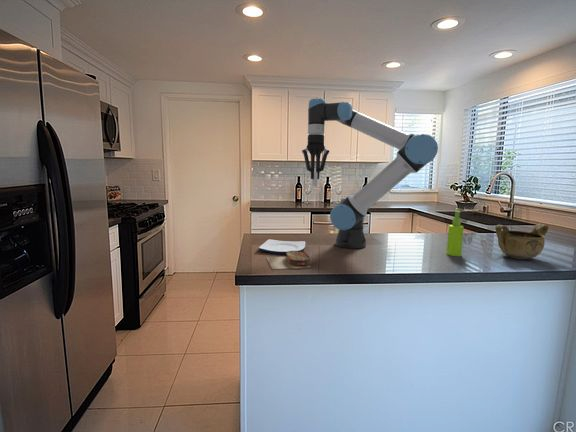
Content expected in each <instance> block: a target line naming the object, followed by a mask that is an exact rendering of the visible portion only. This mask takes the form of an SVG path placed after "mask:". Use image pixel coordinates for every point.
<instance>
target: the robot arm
mask: <svg viewBox="0 0 576 432" xmlns="http://www.w3.org/2000/svg"><path fill="white" fill-rule="evenodd" d="M308 101H309V102H308V109H307V111H308V113H307V115H308V117H307V134H308V135H307V145H306V148H304V149H302V150H301V153H302V154H303V157H304V163H305V167H306V171H308V172H310V179H311V180H312V181H311V182H312V187H315V188H316V187H318V180H319V179H320V172H323V171H324V170H325V166H326V161H327V158H328V155H329V154H330V150H328V149H326V146H325V135H324V134H325V126H326V125H325V123H326V121H327V122H330V121H332V122H333V121H336V122H338V123H341V124H342V125H344V126H347V127H349V128H352V129H353V130H355V131H358V132H360V133H362V134H365V135H367V136H369V137H371V138H373V139H375V140H376V141H377V140H378V141H379V142H382V143H384V144H386V145H388V146H390V147H393V148H395V149H396V150H398V151H397V152H396V157H395V158H394V159H393V160H392V161H391V162H390V163H389V164H388V165H387V166H385V167H384V168H383V169H382V170H381V171H380V172H378V174H376V175H375V176H374V177H373V178H372V179H371V180H370V181H369V182H368V183H366V184H365V185H364V186H363V187H362V188H360V189H359V191H357V192H356V193H355V194H354V195H348V196H347V197H345V198H341V199H340V202H339V203H338V204H337V205H335V206H334V207H333V208H332V209H331V211H330V213H329V220H330V222H331V224H332V226H333V227H334V228H336V229H337V230H338V231H337V233H336V234H337V235H336V237H335V242H334V243H335V245H336V247H339V248H343V249H344V248H345V249H363V248H365V247H367V240H366V236H365V232H364V221H365V220H364V219H365V217H366V216H367V213H368V210H369V209H370V208H371V207H372V206H373V205H375V204H376V203H378V201H379V200H380V199H382V198H383V197H384V196H385V195H387V193H389V192H390V191H391V190H392V189H393V188H395V187H396V186H397V185H398V184H399V183H400V182H402V181H404V179H406V177H408V176H409V175H410V174H411V173H412V174H417V173H418V172H419V171H420V170H421V169H423V168H424V167H425V166H426V165H427V164H429V163H430V162H432V161H433V160H434V159H435V158H436V156H437V154H438V151H439V145H438V141H437V140H436V139H435V137H433V136H432V135H431V134H430V135H429V134H427V133H418V134H414V133H412V132H411V133H406V132H404V131H401V130H400V129H397V128H396V127H392V126H390V125H389V124H386V123H384V122H381V121H379V120H377V119H374V118H372V117H370V116H367V115H365V114H364V113H360V112H359V111H357V110H355V109H353V106H352V103H351V102H349V101H347V102H345V101H342V102H341V101H340V102H329V103H327V102H326V100H325V99H324V98H318V97H317V98H311V99H310V100H308ZM308 153H309V154H308ZM322 153H323V154H322ZM321 154H322V158H321ZM309 155H310V160H309Z"/></svg>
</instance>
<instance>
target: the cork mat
mask: <svg viewBox="0 0 576 432" xmlns="http://www.w3.org/2000/svg"><path fill="white" fill-rule="evenodd" d="M265 259H266V261H267V263H268V264H269V266H270V268H271V270H272V271H273V270H293V269H295V270H296V269H311V268H312V267H311V265H310V264H309V265H307V266H293V265H291V264H290V263H289V262H288V260H287V258H286V256H274V257H273V256H272V257H271V256H270V257H265Z"/></svg>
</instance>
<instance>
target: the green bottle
mask: <svg viewBox="0 0 576 432" xmlns="http://www.w3.org/2000/svg"><path fill="white" fill-rule="evenodd" d="M454 213H455V214H454V216H453V218H452V223H451V224H449V225H448V234H447V244H446V245H447V246H446V254H447V255H448V256H451V257H461V256H462V247H463V237H464V229H465V228H464V226H463V225H461V223H462V218H461V217H460V215H461V214H460V213H461V210H459V209H457V210H456V209H455V210H454Z"/></svg>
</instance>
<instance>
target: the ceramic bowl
mask: <svg viewBox="0 0 576 432" xmlns="http://www.w3.org/2000/svg"><path fill="white" fill-rule="evenodd" d="M548 230H549V226H548V224H545V223H544V224H543V223H538V224H536V225H535V226H534V227H533V229H532V231H527V230H526V231H523V230H515V229H509V228H508V227H507V225H504V224H496V226H495V230H494V231H495V233H496V237H497V241H498V242H497V243H498V247H499V249H500V250H501V252H502V253H503V254H504V255H506V256H507V257H510V258H512V259H516V260H530V259H532V258H535V257H537V256H539V255H541V253H542V252H543V250H544V247H545V236H546V234H547V233H548Z"/></svg>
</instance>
